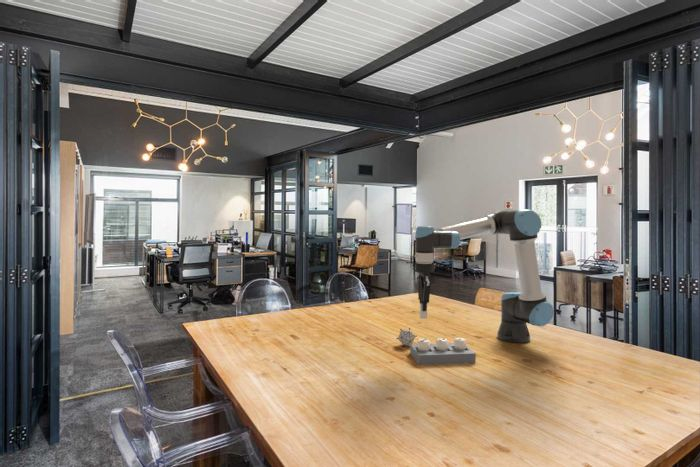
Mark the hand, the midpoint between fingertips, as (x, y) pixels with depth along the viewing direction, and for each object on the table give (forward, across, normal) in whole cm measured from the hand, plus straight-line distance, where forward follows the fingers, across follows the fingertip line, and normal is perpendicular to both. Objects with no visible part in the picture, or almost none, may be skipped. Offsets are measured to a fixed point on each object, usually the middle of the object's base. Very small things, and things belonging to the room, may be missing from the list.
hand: (423, 318), depth 170 cm
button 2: (+15, 0, +8) cm, 17 cm away
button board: (+17, 0, +8) cm, 19 cm away
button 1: (+15, 0, +16) cm, 22 cm away
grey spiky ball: (+18, -18, -3) cm, 25 cm away
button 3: (+15, 0, 0) cm, 15 cm away
